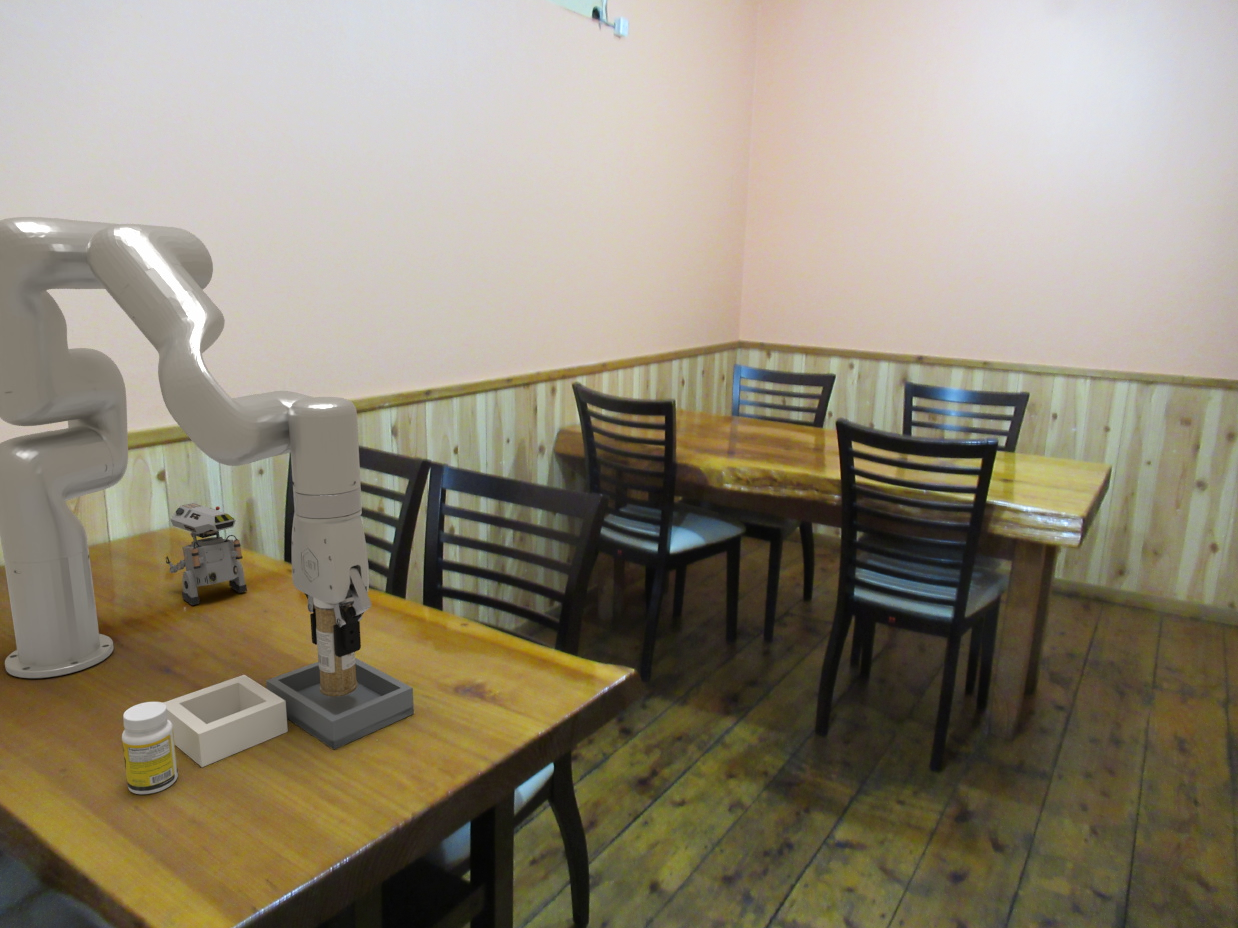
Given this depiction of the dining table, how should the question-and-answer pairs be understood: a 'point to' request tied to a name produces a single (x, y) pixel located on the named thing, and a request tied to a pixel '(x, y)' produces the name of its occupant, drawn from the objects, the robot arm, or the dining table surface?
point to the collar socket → (225, 719)
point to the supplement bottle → (149, 748)
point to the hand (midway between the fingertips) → (336, 645)
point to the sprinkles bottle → (332, 654)
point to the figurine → (207, 551)
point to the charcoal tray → (342, 703)
